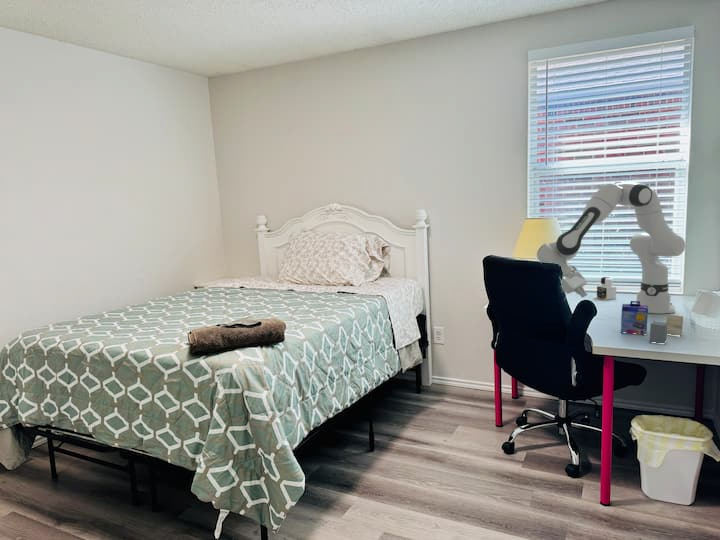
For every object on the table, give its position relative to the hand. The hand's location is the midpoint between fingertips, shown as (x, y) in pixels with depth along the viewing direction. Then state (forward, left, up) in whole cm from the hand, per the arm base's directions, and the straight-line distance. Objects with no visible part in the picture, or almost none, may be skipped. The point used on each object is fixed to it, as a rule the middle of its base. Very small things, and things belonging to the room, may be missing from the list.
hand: (585, 296), depth 227 cm
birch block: (-6, +34, -14) cm, 38 cm away
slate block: (+9, +31, -14) cm, 36 cm away
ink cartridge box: (0, +20, -14) cm, 25 cm away
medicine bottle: (-65, -9, -14) cm, 67 cm away
